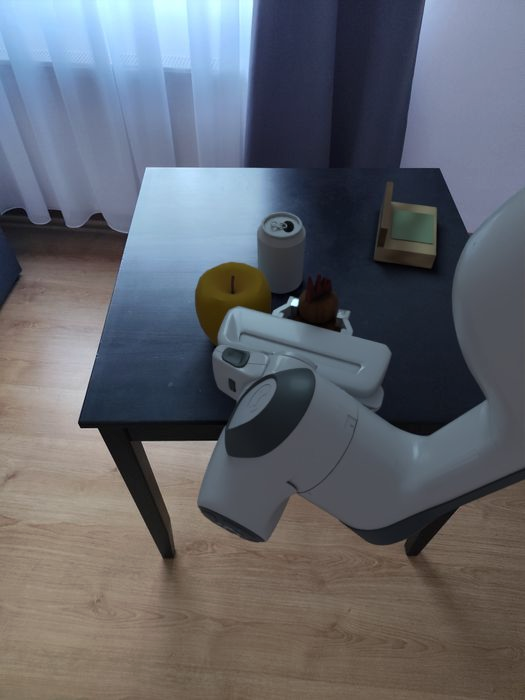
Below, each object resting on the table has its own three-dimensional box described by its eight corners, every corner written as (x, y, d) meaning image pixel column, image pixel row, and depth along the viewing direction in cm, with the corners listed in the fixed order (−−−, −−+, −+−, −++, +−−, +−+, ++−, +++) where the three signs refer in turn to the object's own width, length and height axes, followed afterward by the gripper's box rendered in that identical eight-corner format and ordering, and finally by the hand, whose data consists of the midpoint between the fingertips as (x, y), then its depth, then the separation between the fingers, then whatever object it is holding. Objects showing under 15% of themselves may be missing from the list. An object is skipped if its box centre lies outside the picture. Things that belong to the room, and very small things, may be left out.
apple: (250, 377, 69) (247, 317, 59) (186, 351, 72) (173, 290, 62) (282, 326, 75) (285, 264, 65) (222, 304, 78) (216, 241, 68)
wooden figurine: (296, 372, 64) (301, 292, 52) (283, 340, 68) (286, 259, 56) (343, 361, 65) (359, 280, 54) (328, 330, 69) (340, 248, 57)
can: (302, 297, 79) (307, 238, 69) (257, 296, 79) (256, 238, 69) (301, 266, 83) (305, 208, 74) (258, 266, 84) (257, 207, 74)
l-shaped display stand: (432, 220, 91) (443, 188, 86) (431, 268, 83) (443, 236, 77) (379, 213, 93) (387, 181, 87) (373, 260, 84) (380, 227, 79)
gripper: (383, 404, 48) (407, 309, 56) (198, 350, 52) (245, 270, 61) (372, 434, 53) (396, 343, 61) (205, 382, 57) (247, 304, 65)
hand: (319, 306), depth 61 cm, fingers closed on wooden figurine, 5 cm apart
